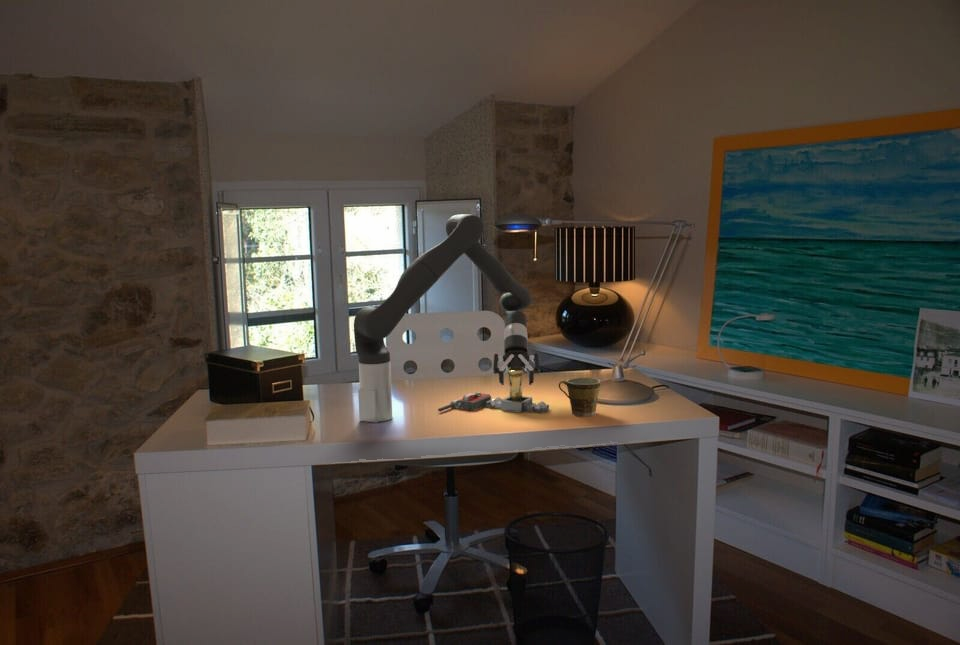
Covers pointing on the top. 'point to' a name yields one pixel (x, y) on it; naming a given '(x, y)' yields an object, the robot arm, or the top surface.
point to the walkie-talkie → (469, 402)
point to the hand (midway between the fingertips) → (516, 383)
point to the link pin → (515, 384)
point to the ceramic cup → (582, 395)
